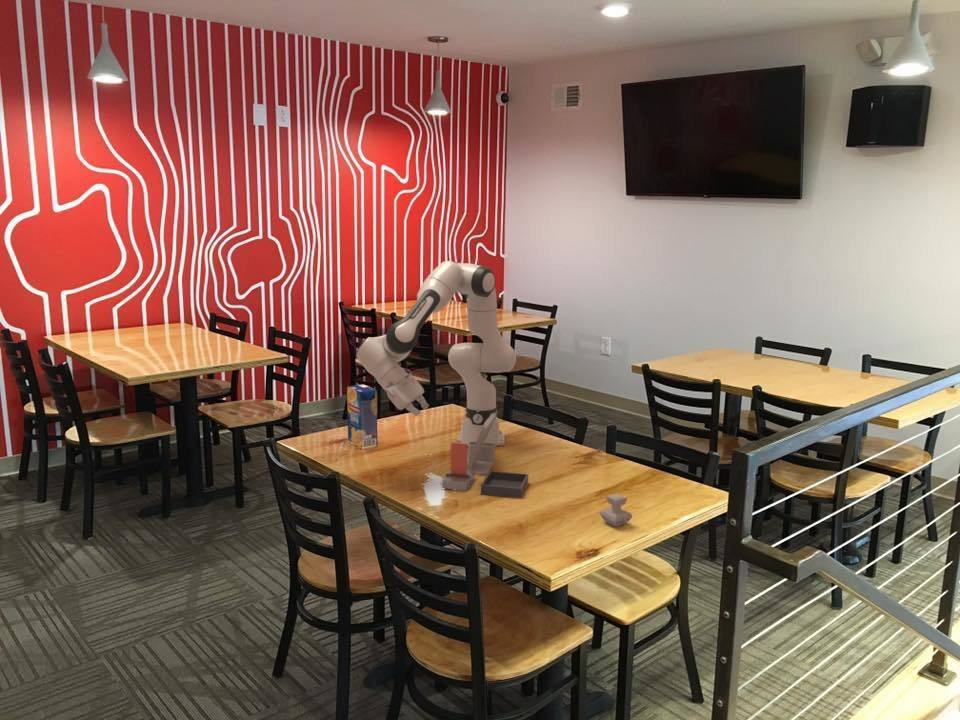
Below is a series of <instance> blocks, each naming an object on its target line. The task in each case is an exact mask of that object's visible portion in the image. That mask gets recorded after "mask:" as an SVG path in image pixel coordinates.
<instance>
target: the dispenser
mask: <svg viewBox="0 0 960 720" xmlns="http://www.w3.org/2000/svg"><path fill="white" fill-rule="evenodd" d="M475 479H476V475H475V470H467V475H458V474H451V469H449V471H448V473H445V476H444V477H443V478H442V480H441V481H442V483H441V484H442V488H448V489H456V490H455V491H459V490H464V491H463V492H467V491H468V490H467V489H469V488H470V487H471V485H472V484H473V482H474V481H475ZM473 480H474V481H473ZM471 483H472V484H471ZM469 486H470V487H469ZM442 488H441V489H442ZM448 489H447V490H448ZM466 490H467V491H466Z"/></svg>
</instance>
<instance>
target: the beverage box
mask: <svg viewBox="0 0 960 720" xmlns="http://www.w3.org/2000/svg"><path fill="white" fill-rule="evenodd" d="M346 395H347V397H346V400H347V401H346V402H347V441H348V440H349V441H350V442H352V443H354V444H356V445H358V446H359V447H361V448H362V447H368V446H373V445H378V389H376V388H373V387H370V386H368V385H366V384H364V383H363V384H355V385H349V386H347V387H346Z"/></svg>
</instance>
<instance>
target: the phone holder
mask: <svg viewBox="0 0 960 720" xmlns="http://www.w3.org/2000/svg"><path fill="white" fill-rule="evenodd" d="M496 416H497V417H498V413H497V414H494V413H492V414H491V415H490V417H489V418H488V419H487V420H486V422H485V423H484V425H483V427H482V430H481V432H480V435H479V437H478V440H477V442H470V443H468V446H467V470H475V474H476V475H477V476H483V475H484V476H487V474H488V473H489V471H491V468H492V467H493V466H494V464H495V462H496V446H495V444H493V443H484V441H485V439H486V437H487V435H488V433H489V431H490V429H491V427H492V425H493V423H494V421H495V418H496ZM476 475H475V476H476Z"/></svg>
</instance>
